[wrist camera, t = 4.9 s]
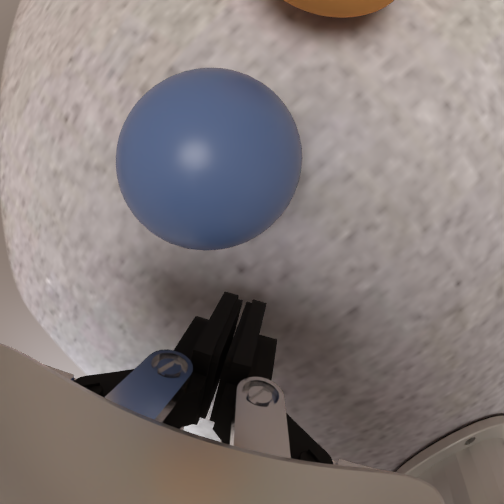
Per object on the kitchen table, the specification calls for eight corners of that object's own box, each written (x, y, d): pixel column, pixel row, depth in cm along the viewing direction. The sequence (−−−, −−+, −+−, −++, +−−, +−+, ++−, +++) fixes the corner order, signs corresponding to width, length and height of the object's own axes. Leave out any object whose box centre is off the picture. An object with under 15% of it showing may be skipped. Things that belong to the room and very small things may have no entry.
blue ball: (286, 96, 4) (355, 132, 9) (118, 32, 6) (233, 67, 10) (174, 320, 7) (276, 258, 12) (71, 199, 8) (181, 180, 13)
